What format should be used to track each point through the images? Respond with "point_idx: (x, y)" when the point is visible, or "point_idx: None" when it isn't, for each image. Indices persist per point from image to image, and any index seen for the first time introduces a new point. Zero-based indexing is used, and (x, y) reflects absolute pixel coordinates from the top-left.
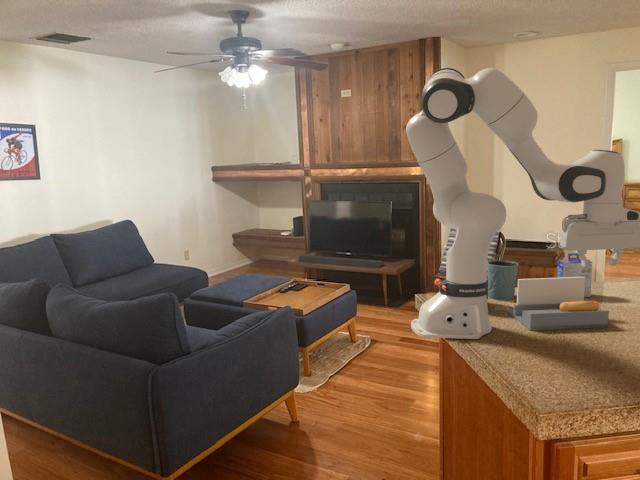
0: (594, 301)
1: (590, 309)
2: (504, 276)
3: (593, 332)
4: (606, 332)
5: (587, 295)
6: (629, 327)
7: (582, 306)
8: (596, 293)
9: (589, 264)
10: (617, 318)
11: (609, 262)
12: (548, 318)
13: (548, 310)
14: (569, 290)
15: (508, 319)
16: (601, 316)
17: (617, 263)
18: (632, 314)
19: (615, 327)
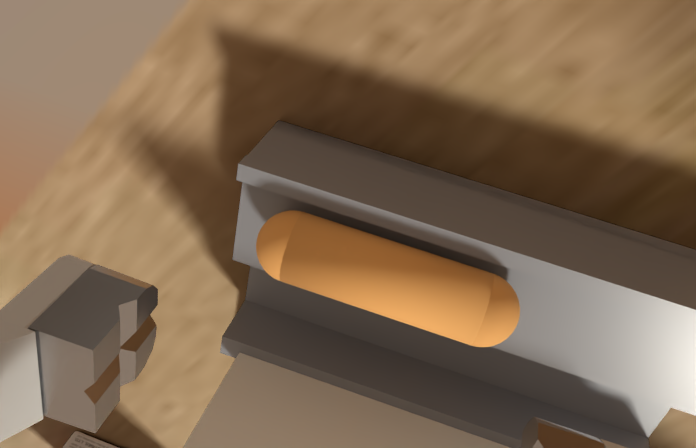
0: (280, 260)
1: (339, 225)
2: None
3: (423, 88)
4: (349, 57)
5: (85, 441)
6: (166, 70)
7: (389, 256)
8: (27, 443)
9: (551, 443)
10: (136, 199)
11: (135, 365)
12: (650, 276)
13: (550, 353)
14: (298, 441)
15: (692, 430)
16: (296, 163)
17: (59, 269)
18: (32, 208)
19: (239, 101)
